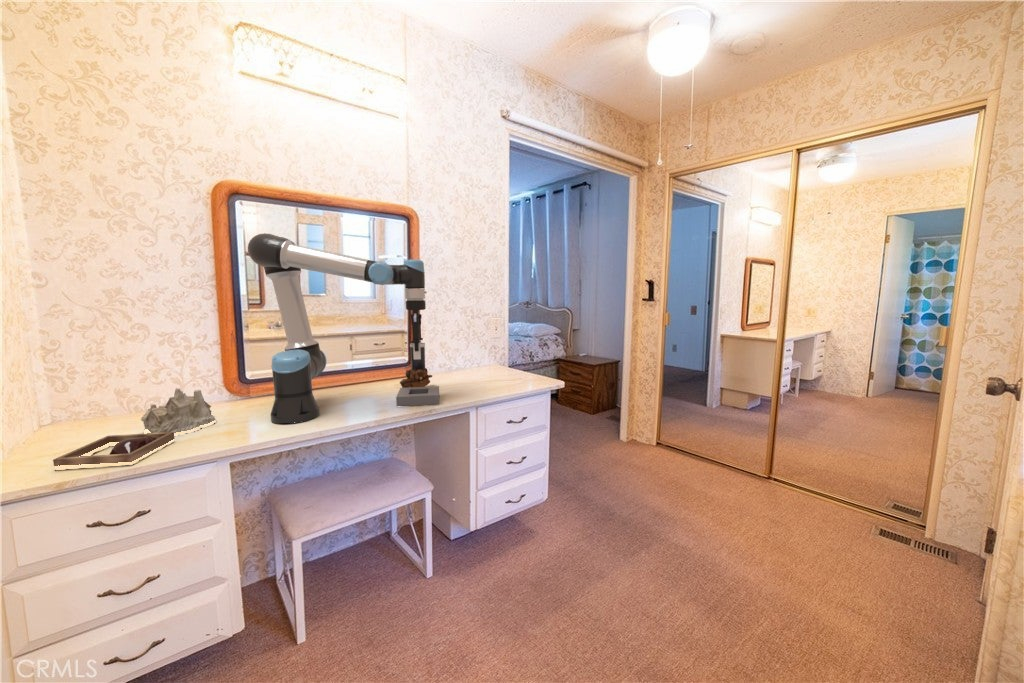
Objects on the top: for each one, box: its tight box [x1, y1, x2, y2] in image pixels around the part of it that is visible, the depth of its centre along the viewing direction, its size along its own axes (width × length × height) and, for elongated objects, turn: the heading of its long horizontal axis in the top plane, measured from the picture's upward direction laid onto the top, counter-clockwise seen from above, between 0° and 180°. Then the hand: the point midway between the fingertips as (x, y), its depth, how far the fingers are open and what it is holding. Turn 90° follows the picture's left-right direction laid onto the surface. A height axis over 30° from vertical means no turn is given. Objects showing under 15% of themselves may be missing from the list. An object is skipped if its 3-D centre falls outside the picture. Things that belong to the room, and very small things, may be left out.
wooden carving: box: [399, 367, 433, 388], centre depth 174 cm, size 16×5×10 cm, turn 143°
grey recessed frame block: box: [395, 385, 440, 407], centre depth 156 cm, size 16×14×4 cm
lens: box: [409, 342, 426, 370], centre depth 154 cm, size 6×6×10 cm
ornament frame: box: [52, 432, 175, 467], centre depth 106 cm, size 17×16×3 cm
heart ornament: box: [108, 436, 157, 455], centre depth 107 cm, size 6×12×11 cm
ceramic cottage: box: [140, 387, 216, 433], centre depth 125 cm, size 16×16×15 cm
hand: (417, 357), depth 154 cm, fingers closed on lens, 6 cm apart
